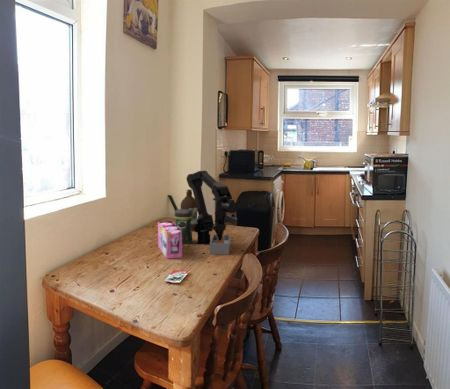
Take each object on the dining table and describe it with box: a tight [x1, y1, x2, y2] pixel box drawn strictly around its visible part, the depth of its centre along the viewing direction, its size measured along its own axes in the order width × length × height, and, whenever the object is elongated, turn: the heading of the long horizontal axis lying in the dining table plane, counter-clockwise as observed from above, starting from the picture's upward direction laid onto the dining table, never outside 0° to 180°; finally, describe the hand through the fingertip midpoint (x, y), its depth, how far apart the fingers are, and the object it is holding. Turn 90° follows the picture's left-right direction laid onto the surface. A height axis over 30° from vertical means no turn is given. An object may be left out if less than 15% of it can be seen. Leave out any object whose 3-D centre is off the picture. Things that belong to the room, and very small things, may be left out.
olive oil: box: [180, 188, 198, 232], centre depth 261 cm, size 11×11×25 cm
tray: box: [209, 233, 231, 255], centre depth 221 cm, size 10×18×6 cm, turn 177°
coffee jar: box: [173, 208, 193, 245], centre depth 232 cm, size 10×8×19 cm
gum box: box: [157, 220, 183, 259], centre depth 215 cm, size 24×8×14 cm, turn 20°
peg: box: [217, 230, 225, 243], centre depth 221 cm, size 4×4×9 cm
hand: (220, 239), depth 221 cm, fingers closed on peg, 3 cm apart
